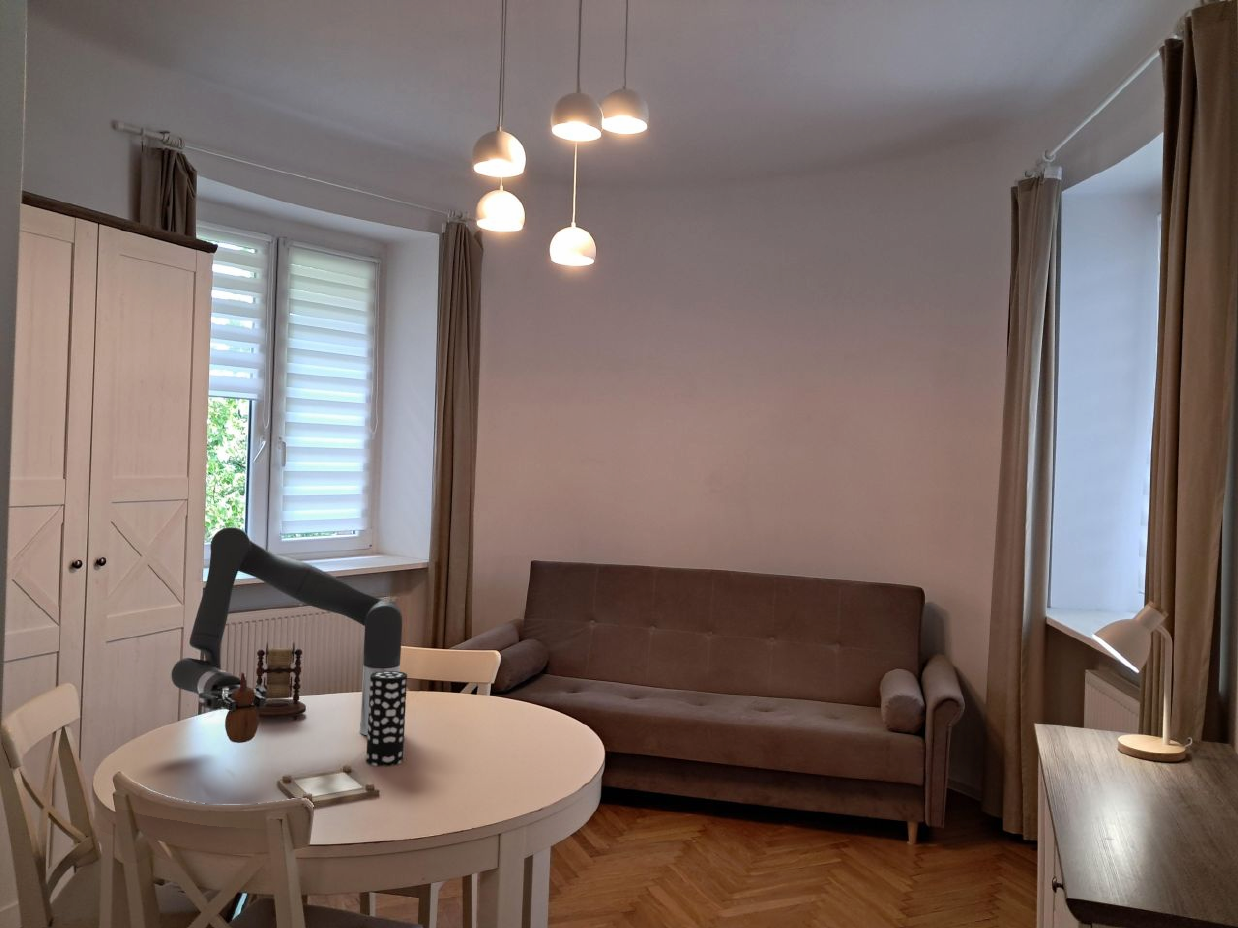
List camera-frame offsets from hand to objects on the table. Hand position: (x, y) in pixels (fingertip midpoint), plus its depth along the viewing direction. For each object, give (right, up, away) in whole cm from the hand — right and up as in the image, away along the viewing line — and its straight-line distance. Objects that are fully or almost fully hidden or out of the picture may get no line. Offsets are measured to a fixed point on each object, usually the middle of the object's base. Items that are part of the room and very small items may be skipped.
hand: (247, 704), depth 191 cm
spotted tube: (+24, -18, +19) cm, 36 cm away
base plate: (+18, -18, -2) cm, 25 cm away
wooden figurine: (-2, -8, +2) cm, 9 cm away
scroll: (-14, -17, +52) cm, 57 cm away
